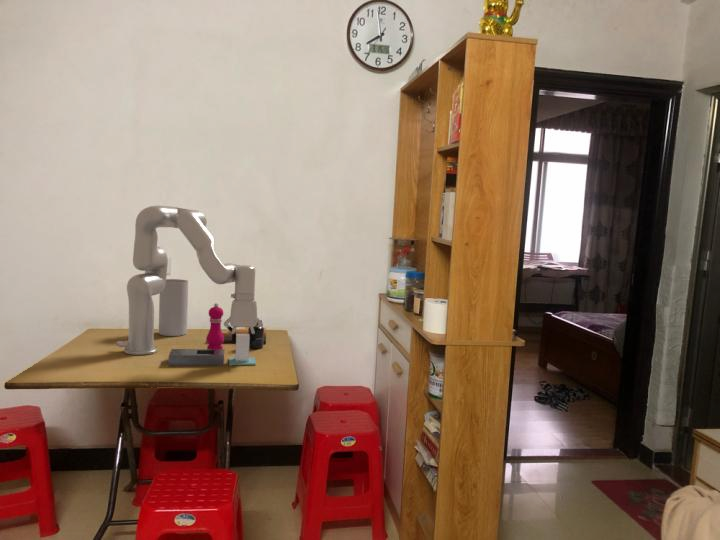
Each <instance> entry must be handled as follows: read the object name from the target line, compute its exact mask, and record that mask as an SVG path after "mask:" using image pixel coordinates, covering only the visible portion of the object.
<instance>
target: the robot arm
mask: <svg viewBox="0 0 720 540" xmlns="http://www.w3.org/2000/svg"><path fill="white" fill-rule="evenodd" d="M207 223H208V222H207V218H206V216H205V214H204V213H203V212H202V211H199V210H195V209H187V208H184V207H183V208H182V207H177V206H169V205H151V206H148V207H145V208H143V209H142V210H140V211H139V212H138V214H137V216H136V219H135V226H134V227H135V229H134V231H135V232H134V243H133V253H132V254H133V255H132V264H133V267H134V268H135V269H136V270H138V271H142V273H138V274H136V275H132V277H130V279H128V281H127V284H126V292H127V298H128V340H125V341H116V346H117V347H118V348H123V347H124V350H123V352H124V354H126V355H132V356H145V355H152V354H155V353H157V352H158V348H157V346H154V338H155V337H154V334H155V333H154V332H155V331H154V330H155V305H154V300H153V296H157V295H160V293H161V292H162V291H163V290H164V288H165V284H166V279H167V275H168V261H169V258H168V255H167V252H166V251H165V250H164V249H163V247H160V246H158V232H157V228H174V229H179V230H180V232H181V233H182V234H183V236H184V237H185V238H186V239H187V242H189V244H190V245H191V247H192V248H193V249H194V250H195V252H196V257H197V261H198V263H199V265H200V267H201V268H202V270H203V272H204V273H205V274H206V275H207V277H208V278H209V279H210V280H211V282H213V283H214V284H215V285H216V284H217V285H226V284H230V283H234V293H231V294H230V298H232V299H233V300H232V302H231V307H230V316H229V317H228V318H227V319H226V320H225V321H224V322H223V326H224V327H225V328H226V329H228V332H231V333H232V341H234V343H233V344H234V345H236V333H235V331H236V330H237V329H238V328H245V327H250V329H251V333H250V344H252V342H254V333H255V332H256V331H257V330H258V329H259V328H261V327H263V326H264V323H263V321H262V322H261V321H260V320H261V319H259V317H258V306H257V301H256V300H255V294H256V293H255V292H256V291H255V290H256V289H255V286H256V284H255V283H256V268H255V266H253V265H245V264H244V265H243V264H242V265H240V264H236V263H230V262H229V263H222V262H221V260H220V258H219V257H218V256H217V255H216V253H215V250H214V243H215V237H214V236H213V235H212V234H211V232H210V231H209V230H208V228H207V227H206V226H207ZM143 271H144V272H143ZM229 323H230V324H229ZM257 323H258V326H256V325H257ZM255 326H256V327H255ZM253 327H255V328H253Z"/></svg>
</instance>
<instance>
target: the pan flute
mask: <svg viewBox="0 0 720 540" xmlns="http://www.w3.org/2000/svg"><path fill="white" fill-rule="evenodd" d="M248 328H249V327H244V328H239V329H236V331H235V333H236V334H248ZM263 328H264V340H263V345H267V329H266V328H267V327H263ZM222 334H223V336H224V342H223V343H222V344H234V341H232V333H231V332H230V331H227V332H222Z"/></svg>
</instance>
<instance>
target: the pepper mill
mask: <svg viewBox="0 0 720 540" xmlns="http://www.w3.org/2000/svg"><path fill="white" fill-rule="evenodd" d="M208 316H209V317H210V318H209V323H210V328H209V331H208V332H207V335H206V344H207V347H206V349H224V348H223V347H224V346H223V345H222V344H224V343H223V342H224V336H223V334H222V333H223V331H222V327H221V324H222V322H223V316H224V310H223V309H222V307H220V306H219V303H214V304H213V307H211V308H210V309H209V310H208Z"/></svg>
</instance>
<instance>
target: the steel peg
mask: <svg viewBox="0 0 720 540" xmlns="http://www.w3.org/2000/svg"><path fill="white" fill-rule="evenodd" d="M249 338H250V336H249V334H236V344H235V356H234V357H235V362H249V357H250V348H249Z"/></svg>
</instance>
